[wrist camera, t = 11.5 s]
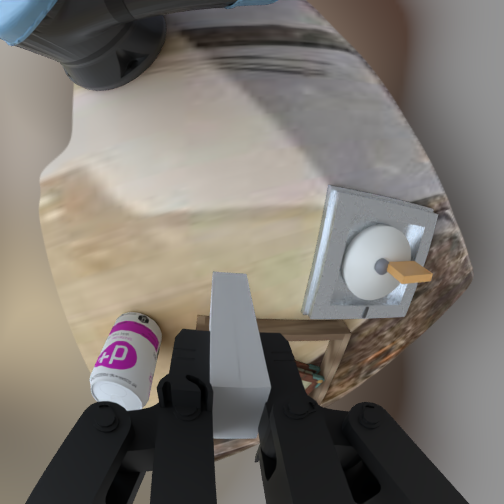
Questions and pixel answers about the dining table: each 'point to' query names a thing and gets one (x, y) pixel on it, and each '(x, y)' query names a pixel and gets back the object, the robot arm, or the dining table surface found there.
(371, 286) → the dial
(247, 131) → the dining table surface
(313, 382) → the decorative book
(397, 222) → the dial panel
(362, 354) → the dining table surface
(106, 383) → the supplement can
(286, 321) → the book tray
